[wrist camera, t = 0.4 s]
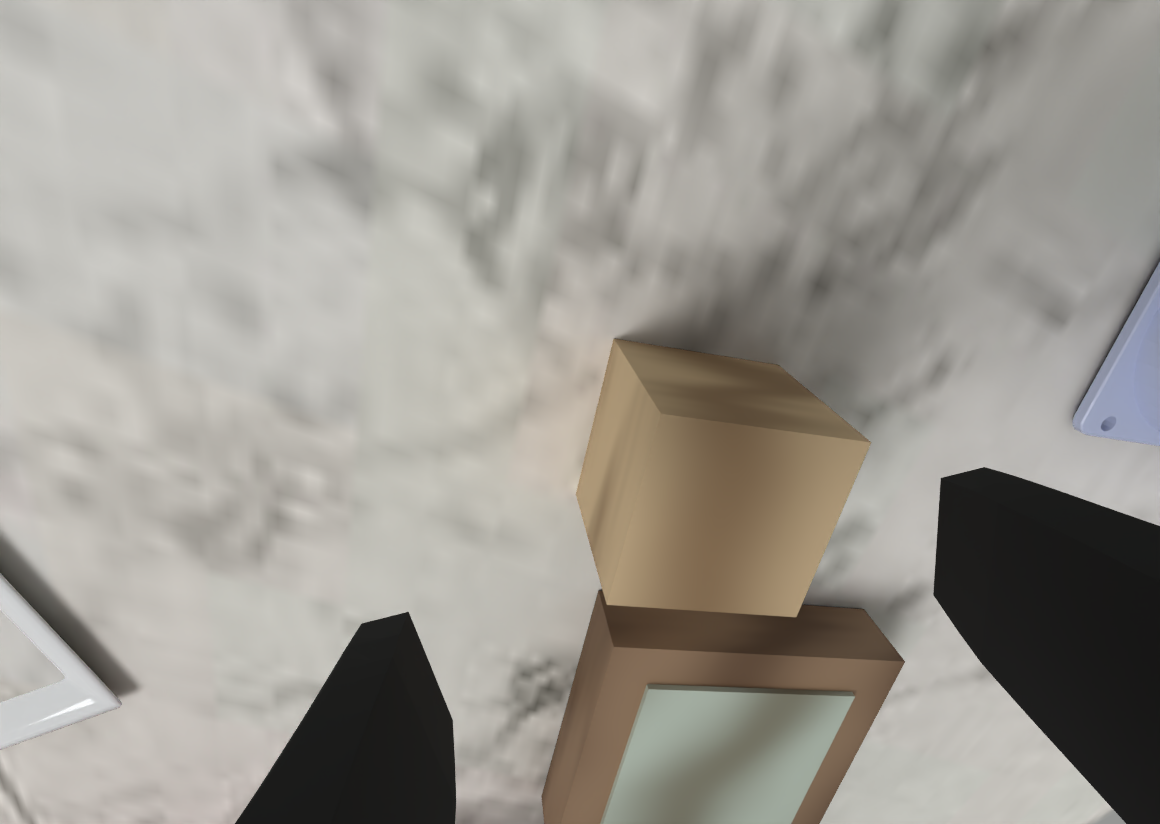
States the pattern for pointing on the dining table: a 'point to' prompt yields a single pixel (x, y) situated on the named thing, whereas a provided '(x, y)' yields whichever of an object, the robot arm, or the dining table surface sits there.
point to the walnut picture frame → (715, 715)
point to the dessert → (57, 701)
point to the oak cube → (711, 482)
